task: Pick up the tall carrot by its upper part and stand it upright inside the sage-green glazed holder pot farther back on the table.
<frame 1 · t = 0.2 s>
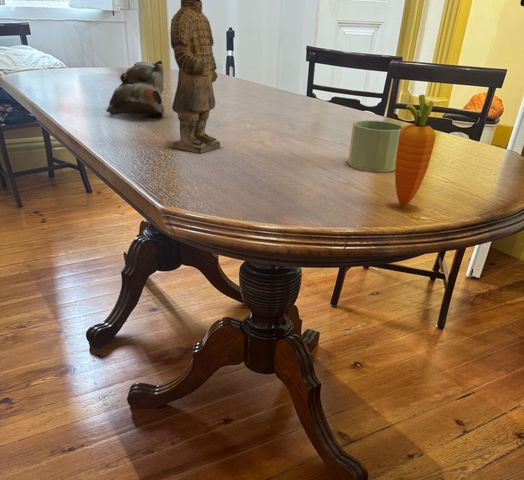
dark stacked lumps: (138, 116, 125), on the table
holder: (372, 165, 96), on the table
statue: (197, 148, 101), on the table
carrot: (402, 208, 76), on the table
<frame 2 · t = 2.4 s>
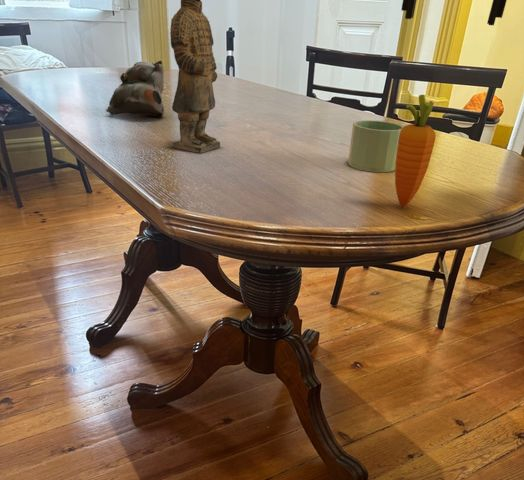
hand: (448, 21, 62), 23 cm above the table, tool pointing down, fingers open, 9 cm apart
nothing on the table moved.
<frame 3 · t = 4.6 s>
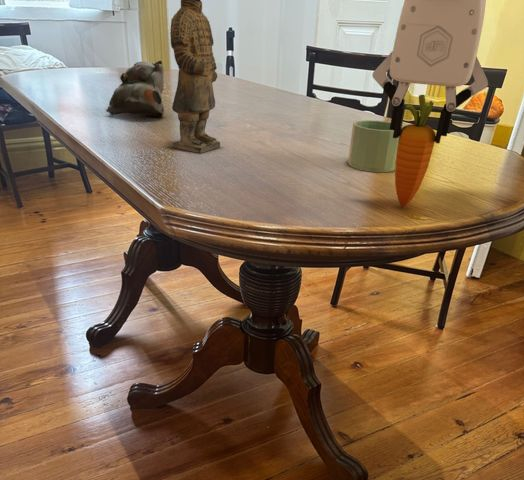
hand: (417, 137, 71), 10 cm above the table, tool pointing down, fingers closed on carrot, 4 cm apart
carrot: (402, 208, 76), on the table, touching gripper
everything else where it was.
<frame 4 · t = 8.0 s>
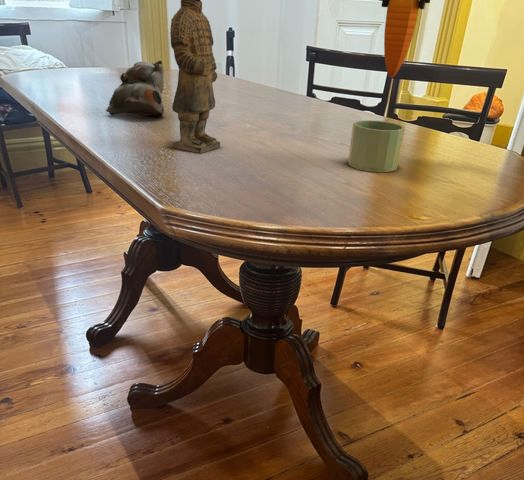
hand: (403, 6, 79), 25 cm above the table, tool pointing down, fingers closed on carrot, 4 cm apart
carrot: (391, 79, 85), point 15 cm above the table, touching gripper
everything else where it was.
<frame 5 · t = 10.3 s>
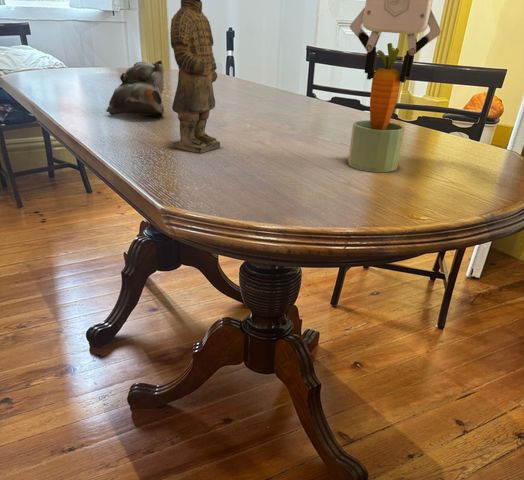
hand: (386, 78, 87), 14 cm above the table, tool pointing down, fingers closed on carrot, 4 cm apart
carrot: (376, 140, 93), point 4 cm above the table, touching gripper
everything else where it was.
when the fingers open (10 cm above the table, at t = 11.8 s): carrot stays where it is, resting on holder.
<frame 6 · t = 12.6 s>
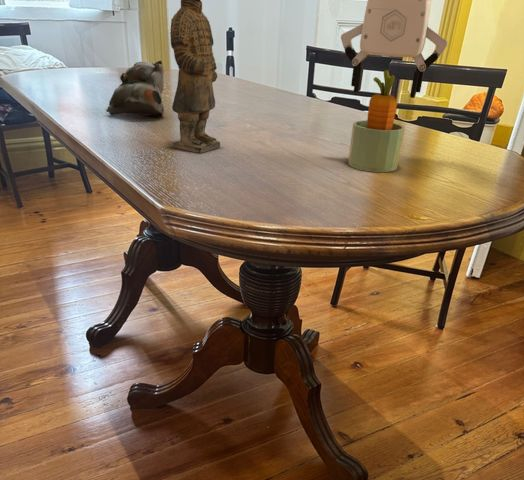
hand: (384, 94, 89), 12 cm above the table, tool pointing down, fingers open, 9 cm apart
carrot: (373, 163, 95), resting on holder
everything else where it was.
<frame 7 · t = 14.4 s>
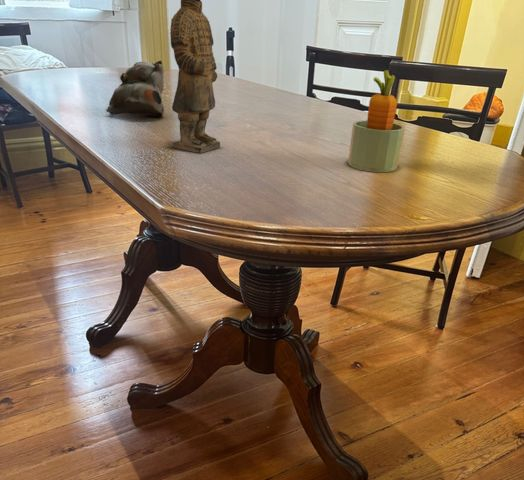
nothing on the table moved.
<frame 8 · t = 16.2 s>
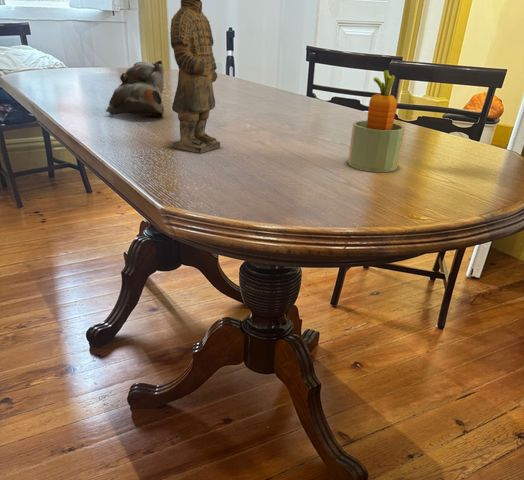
nothing on the table moved.
at the end: carrot 0.1 cm off-centre in the holder, point 0.4 cm above the holder's base; carrot tilted 0°; the gripper is holding nothing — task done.
